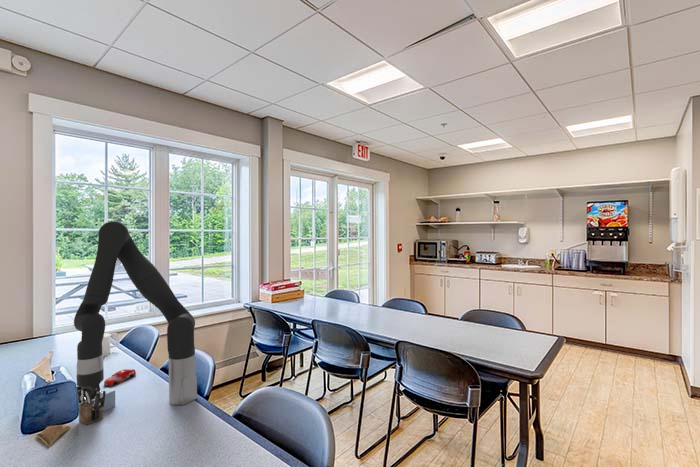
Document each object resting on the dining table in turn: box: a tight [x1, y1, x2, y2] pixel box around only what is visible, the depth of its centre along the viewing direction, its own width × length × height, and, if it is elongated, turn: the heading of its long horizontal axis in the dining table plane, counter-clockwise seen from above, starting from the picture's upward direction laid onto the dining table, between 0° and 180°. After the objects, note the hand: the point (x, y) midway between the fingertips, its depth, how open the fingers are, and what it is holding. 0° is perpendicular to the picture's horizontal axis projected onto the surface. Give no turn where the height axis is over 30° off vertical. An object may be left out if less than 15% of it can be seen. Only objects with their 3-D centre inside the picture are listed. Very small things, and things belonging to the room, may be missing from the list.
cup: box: [102, 332, 119, 357], centre depth 187 cm, size 8×12×10 cm
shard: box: [36, 424, 71, 447], centre depth 111 cm, size 11×8×2 cm
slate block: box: [100, 387, 116, 412], centre depth 130 cm, size 5×5×6 cm
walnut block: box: [78, 399, 104, 426], centre depth 121 cm, size 5×5×6 cm
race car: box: [103, 368, 137, 387], centre depth 153 cm, size 13×5×4 cm, turn 161°
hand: (91, 417), depth 121 cm, fingers closed on walnut block, 5 cm apart
